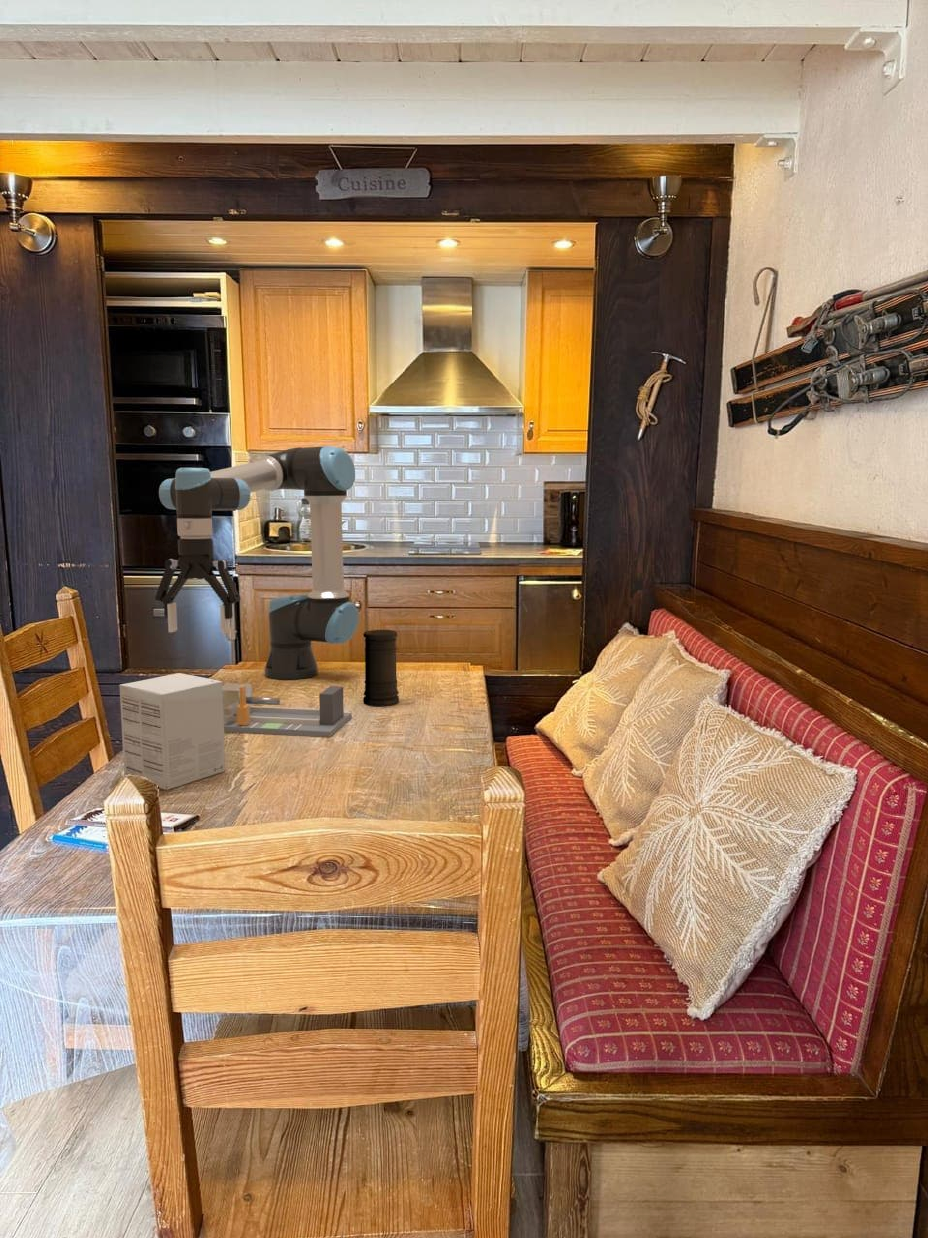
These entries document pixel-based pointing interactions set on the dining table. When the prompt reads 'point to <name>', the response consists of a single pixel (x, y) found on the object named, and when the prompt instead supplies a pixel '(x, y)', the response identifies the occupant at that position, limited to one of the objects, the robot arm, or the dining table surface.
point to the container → (380, 668)
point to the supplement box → (173, 729)
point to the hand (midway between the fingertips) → (199, 632)
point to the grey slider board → (296, 718)
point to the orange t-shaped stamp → (243, 708)
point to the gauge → (233, 698)
